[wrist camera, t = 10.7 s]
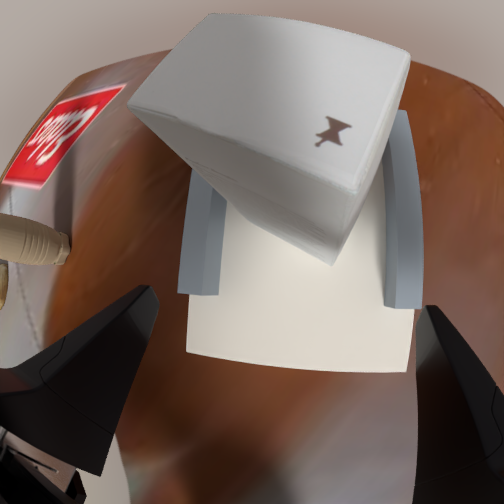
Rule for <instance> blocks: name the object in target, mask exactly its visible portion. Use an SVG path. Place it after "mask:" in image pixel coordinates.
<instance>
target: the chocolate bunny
mask: <svg viewBox="0 0 504 504" xmlns="http://www.w3.org/2000/svg"><path fill="white" fill-rule="evenodd" d="M7 288H8V265H7V264H0V310H1V309H2V307H3V306H4V303H5V299H6V293H7Z"/></svg>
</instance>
